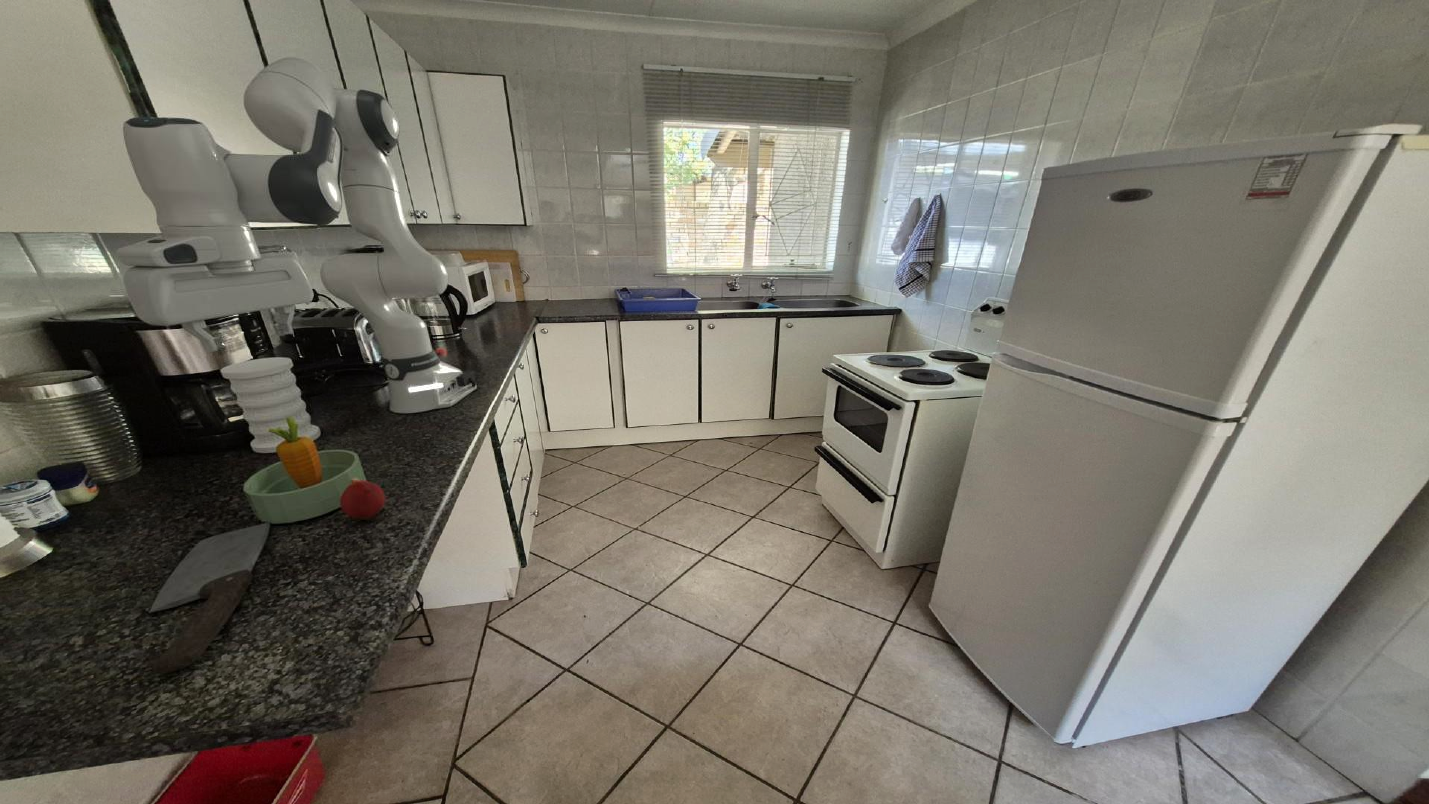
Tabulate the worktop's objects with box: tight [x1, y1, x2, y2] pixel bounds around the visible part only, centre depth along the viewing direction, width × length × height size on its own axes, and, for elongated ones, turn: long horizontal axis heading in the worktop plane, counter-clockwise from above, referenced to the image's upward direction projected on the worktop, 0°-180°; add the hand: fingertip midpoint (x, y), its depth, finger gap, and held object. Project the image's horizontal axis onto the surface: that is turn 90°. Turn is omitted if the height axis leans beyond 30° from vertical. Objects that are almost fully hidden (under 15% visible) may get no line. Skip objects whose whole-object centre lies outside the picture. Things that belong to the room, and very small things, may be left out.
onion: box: [340, 478, 387, 521], centre depth 74 cm, size 6×6×8 cm
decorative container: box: [219, 356, 321, 454], centre depth 97 cm, size 12×12×18 cm
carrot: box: [269, 417, 322, 489], centre depth 77 cm, size 5×5×15 cm
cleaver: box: [148, 522, 271, 676], centre depth 60 cm, size 29×10×2 cm, turn 34°
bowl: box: [242, 449, 367, 525], centre depth 79 cm, size 15×15×6 cm
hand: (252, 342), depth 69 cm, fingers open, 8 cm apart
